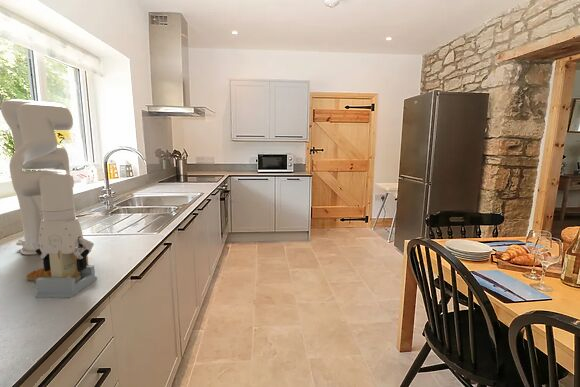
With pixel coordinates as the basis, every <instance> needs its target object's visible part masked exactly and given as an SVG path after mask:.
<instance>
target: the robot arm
mask: <svg viewBox="0 0 580 387" xmlns="http://www.w3.org/2000/svg"><path fill="white" fill-rule="evenodd" d="M0 113H1V114H2V117H3V120H4V121H5V123H6V124H7V126H8V127H9V129H10V131H11V133H12V138H13V147H14V153H13V154H12V156H11V157H10V158H11V159H9V160H10V161H9V173H10V177H11V183H12V187H13V190H14V193H16V196H17V199H18V204H19V210H20V217H21V225H22V231H23V238H20V239H19V240H18V241H17V242H16V246H22V248H21V249H20V253H21V254H22V255H27V256H31V255H33V256H34V255H39V257H40V259H42V264H43V268H44V271H49V270H51V268H50V258H49V254H58V251H59V250H61V252H62V254H73V253H74V254H75V255H76V256H77V257H78V259H77V260H76V261H77V270H78V272H81V271H82V270H84V269H86V267H87V261H86V256H87V257H88V256H89V254H90V253H91V252H92V249H93V247H94V245H95V244H94V242H92V241H90V240H88V239H86V238H84V236H83V235H84V234H83V230H82V227H81V224H80V220H79V218H78V217H76V216H77V214H76V207H75V206H76V205H75V199H74V198H75V197H74V186H75V180H74V176H73V175H72V174H71V173H70V172H71V171H70V161H69V160H70V159H69V154H68V151H67V149H66V148H65V147H63V146H62V145H59V144H58V139H57V136H56V132H55V131H70V130H72V128H73V125H74V119H73V116H72V113H71V111H70V109H69V108H68V107H67V106H65V105H63V104H61V103H56V102H48V101H47V102H46V101H35V100H26V99H6V100H3V101H2V102H1V103H0ZM24 170H25V171H24ZM84 246H86V249H85V250H84V249H83V247H84Z"/></svg>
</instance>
